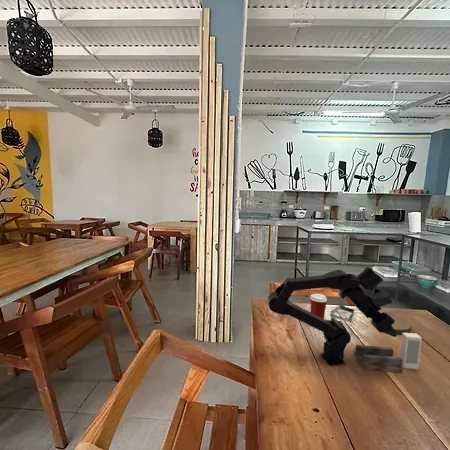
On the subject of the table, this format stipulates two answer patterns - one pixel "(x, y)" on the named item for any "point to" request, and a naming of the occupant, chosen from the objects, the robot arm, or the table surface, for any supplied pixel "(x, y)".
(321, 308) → the paper cup
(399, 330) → the brown round disc
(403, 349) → the cream slab
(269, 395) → the table surface
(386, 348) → the display ledge
